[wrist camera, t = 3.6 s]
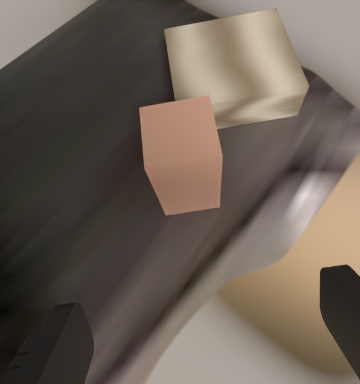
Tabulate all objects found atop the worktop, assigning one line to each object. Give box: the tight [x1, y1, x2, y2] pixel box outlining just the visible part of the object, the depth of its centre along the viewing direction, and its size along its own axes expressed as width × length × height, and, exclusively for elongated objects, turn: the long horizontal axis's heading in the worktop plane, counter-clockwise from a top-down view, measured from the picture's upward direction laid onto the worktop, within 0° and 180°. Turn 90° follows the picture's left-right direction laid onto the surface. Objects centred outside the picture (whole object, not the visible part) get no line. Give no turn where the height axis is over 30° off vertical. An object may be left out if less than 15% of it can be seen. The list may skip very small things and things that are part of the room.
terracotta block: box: [139, 95, 223, 216], centre depth 23 cm, size 5×5×9 cm
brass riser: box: [164, 8, 309, 129], centre depth 30 cm, size 12×11×4 cm
